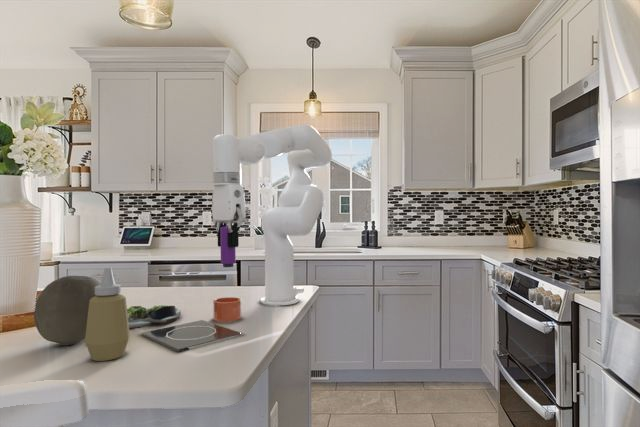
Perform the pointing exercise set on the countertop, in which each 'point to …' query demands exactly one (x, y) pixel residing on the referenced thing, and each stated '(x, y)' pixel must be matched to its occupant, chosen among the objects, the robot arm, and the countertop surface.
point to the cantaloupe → (65, 309)
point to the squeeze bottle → (107, 321)
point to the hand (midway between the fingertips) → (228, 245)
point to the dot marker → (226, 249)
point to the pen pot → (227, 309)
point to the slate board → (189, 335)
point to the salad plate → (152, 315)
